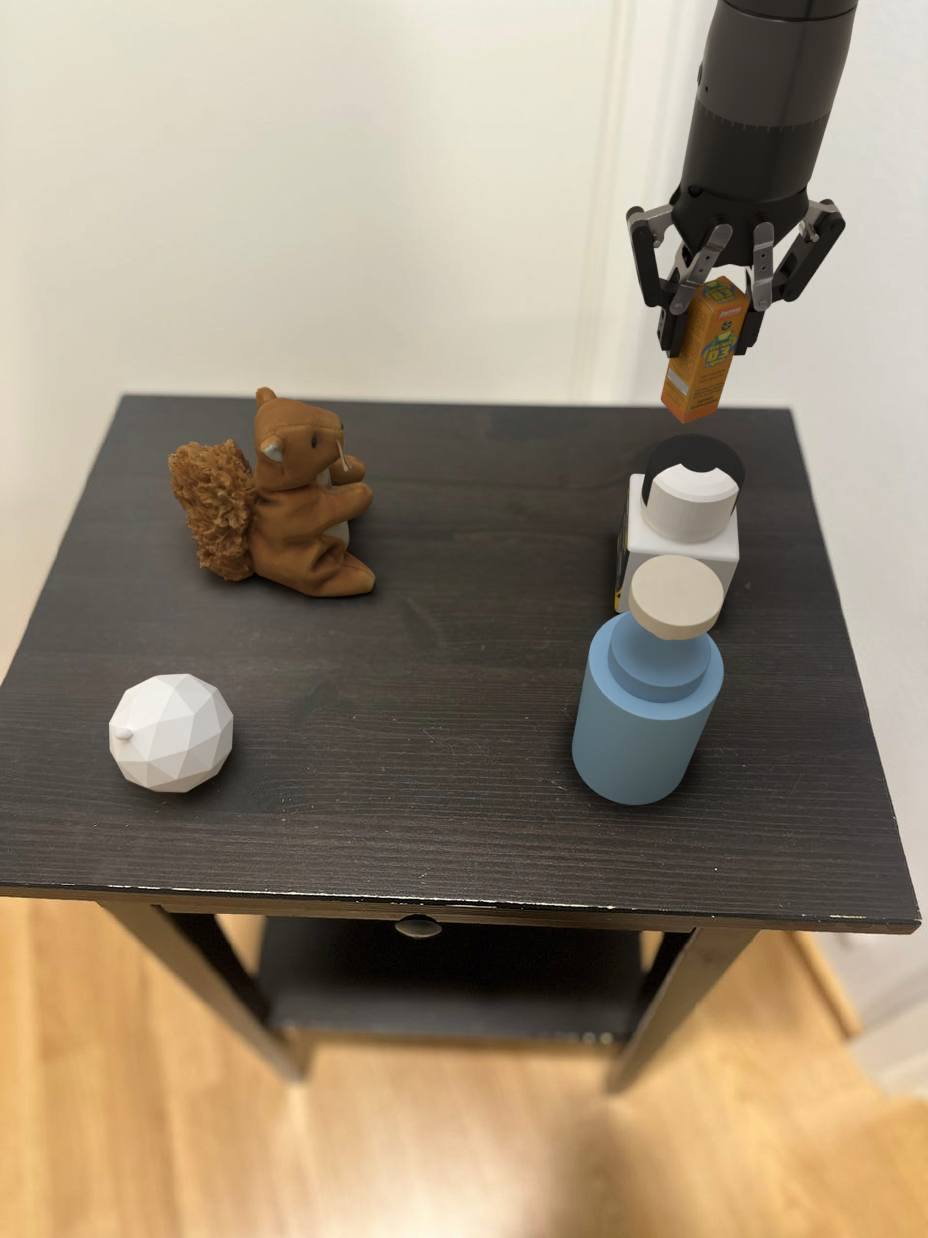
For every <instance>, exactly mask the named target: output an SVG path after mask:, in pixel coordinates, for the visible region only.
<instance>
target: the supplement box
mask: <svg viewBox="0 0 928 1238" xmlns="http://www.w3.org/2000/svg"><path fill="white" fill-rule="evenodd" d="M749 303H750V300H749V298H748V297H747V296H746V295H745V292H744V291H743V290H741V288H740V287H739V286H737V285H736V284H735V283H734V282H733V281H732V280H731V279H730V278H728V277H727V276H726V275H720V276H718V277H716V278H714V279H712V280H708V281H705V282H704V284H703V286H702V287H698V288H697V290H696V292H695V294H694V296H693V298H692V300H691V302H690V304H689V305H688V307H687V309H686V311H687V314H688V317H687V321H686V326H685V331H684V335H683V340H682V345H681V349H680V354H679V357H678V358H668V364H667V368H666V372H665V377H664V381H663V386H662V389H661V390H662V391H661V394H660V401H661V403H662V404H663V405H664V406H665V407H666V408H667V410H668V411H669V412H670V413H671V414H672V415H673V416H674V417H675V418H676V419H677V420H678V421H679V422H680V423H681V424H688V423H690V422H693V421H696V420H698V419H701V418H703V417H704V418H705V417H707V416H709V415H712V414H715V413H716V412H718V411H717V410H718V407H719V405H720V400H721V398H722V394H723V391H724V387H725V385H726V381H727V378H728V375H729V371H730V368H731V365H732V362H733V359H734V352H735V349H736V345H737V342H738V339H739V335H740V332H741V329H742V325H743V322H744V319H745V316H746V313H747V309H748V306H749Z"/></svg>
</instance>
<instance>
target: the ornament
mask: <svg viewBox="0 0 928 1238" xmlns="http://www.w3.org/2000/svg"><path fill="white" fill-rule="evenodd" d="M233 731H234V714H233V713H232V711H231V708H230V707H229V705H228V704H227V702H226V700H225V699H224V697H223V695H222V694H221V692H220V690H219V689H218V687H216V686H214V685H213V684H210V683H208V682H206V681H204V680H202V679H200V678H198V677H196V676H194V675H192V674H190V673H176V674H175V673H174V674H158V675H154V676H152V677H150V678H148V679H146V680H144V681H142V682H140V683H138V684H136V685H134V686H132V687H129V688H128V689H126V690H125V691H124V693H123V695H122V697H121V699H120V701H119V703H118V704H117V707H116V708H115V711H114V713H113V715H112V717H111V718H110V720H109V723H108V736H109V738H108V740H109V751H110V753H111V755H112V757H113V759H114V760H115V762H116V764H117V766H118V768H119V770H120V772H121V773H122V776H123V777H124V779H125V780H127V781H129V782H131V783H134V784H136V785H138V786H141V787H143V788H146V789H148V790H151V791H153V792H157V793H187V792H189V791H191V790H193V789H194V788H196V787H197V786H199V785H201V784H203V783H204V782H206V781H208V780H209V779H211V778H213V777H215V776H216V775H218V774H219V772H220V770H221V769H222V767H223V765H224V764H225V761H226V760H227V758H228V756H229V755H230V753H231V751H232V749H233V733H234V732H233Z"/></svg>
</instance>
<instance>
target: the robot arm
mask: <svg viewBox="0 0 928 1238" xmlns="http://www.w3.org/2000/svg"><path fill="white" fill-rule="evenodd" d="M859 1H860V0H717V2H716V5H715V9H714V13H713V17H712V19H711V22H710V25H709V28H708V31H707V35H706V40H705V44H704V49H703V55H702V59H701V62H700V64H699V66H698V71H697V76H696V83H697V87H696V94H695V97H694V104H693V110H692V115H691V121H690V126H689V132H688V136H687V143H686V149H685V153H684V160H683V165H682V172H681V177H680V181H679V183H678V186H677V187H676V189H675V190H674V192H673V193H672V194H671V196H670V198H669V200H668V203H666V204H663V205H661V206H658V207H655V208H651V209H649V210H646V211H645V210H644V208H643V207H642V206H640V205H634V206H632V207H630V208H629V209H628V210H627V212H626V213H625V221H626V225H627V231H628V237H629V241H630V246H631V251H632V256H633V261H634V266H635V271H636V276H637V281H638V286H639V289H640V293H641V295H642V299H643V303H644V304H645V306H646V307H648V308H657V307H660V313H659V318H658V323H657V328H656V336H657V339H658V343H659V346H660V349H661V352H665V354H666V357H667V359H670V358H678V357H679V354H680V349H681V345H682V340H683V335H684V331H685V326H686V321H687V317H688V314H687V311H686V309H687V307H688V305H689V304H690V302H691V300H692V298H693V296H694V294H695V292H696V290H697V288H698V287H702V286H703V284H704V283H705V282H706V280H707V278H708V276H709V275H710V273H711V271H712V269H717V268H720V267H724V266H729V265H733V266H737V267H740V268H743V271H744V273H743V274H744V288H745V291H744V294H745V295H746V296H747V297H748V298H749V300H750V303H749V306H748V309H747V313H746V316H745V319H744V322H743V325H742V329H741V332H740V335H739V339H738V342H737V345H736V349H735V352H734V355H733V357H734V356H735V357H737V356H738V357H741V356H746V354H747V351H748V348H749V349H750V348H753V347H754V346H755V344H756V343H757V341H758V339H759V334H760V331H761V328H762V324H763V321H764V318H765V314H766V311H767V310H768V309H770V307H771V305H773V304H774V303H776V302H780V301H784V302H786V303H792V302H795V301H796V300H798V299H799V298H800V296H801V295H802V293H803V292H804V291H805V289H806V287H807V286H808V285H809V283H810V281H811V280H812V278H813V277H814V275H815V274H816V273H817V271H818V270H819V268H820V266H821V265H822V263H823V262H824V260H825V259H826V257H828V255H829V254H830V252H831V250H832V249H833V247H834V246H835V244H836V243H837V241H838V240H839V238H840V236H841V235H842V234H843V232H844V231H845V229H846V226H847V225H846V224H847V223H846V221H845V219H844V217H843V215H842V213H841V211H840V209H839V207H838V206H837V205H836V204H835V202H834V201H833V199H830V198H824V199H821V200H820V201H819V202H818V201H815V200H812V199H809V195H808V184H809V182H810V181H811V179H812V176H813V173H814V170H815V166H816V164H817V160H818V157H819V153H820V149H821V147H822V143H823V140H824V136H825V133H826V129H827V126H828V123H829V119H830V118H831V117H830V116H831V113H832V109H833V107H834V102H835V99H836V96H837V93H838V89H839V86H840V83H841V79H842V76H843V73H844V69H845V65H846V62H847V58H848V54H849V51H850V47H851V41H852V35H853V30H854V29H853V28H854V23H855V17H856V13H857V9H858V5H859ZM671 226H674V228H675V229H676V231H677V233H678V235H679V236H680V238H681V241H680V244H679V245H678V248H677V250H676V252H675V255H674V262H673V265H672V267H671V269H670V271H669V274H668V276H667V277H666V279H665V278H662V277H660V274H659V268H658V262H657V257H656V256H657V255H656V252H655V249H659V248H660V247H661V245H662V244H663V242H664V240H665V234H666V231H667V229H668V228H669V227H671ZM797 226H798V231H799V232H798V234H797V235H796V237H795V239H794V240H793V242H792V243H791V245H790V247H789V248H788V250H787V251H786V252H785V255H784V256H783V258H782V259H781V261H780V262H779V263H778V265H777V267H776V268H775V269H774V248H775V247H776V246H777V245H778V244H779V243H780V242H781V241H782V240H784V239H785V238H786V237H787V236H788V234H789V233H790V232H791V231H793V229H795V228H796V227H797ZM774 270H775V271H774Z"/></svg>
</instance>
